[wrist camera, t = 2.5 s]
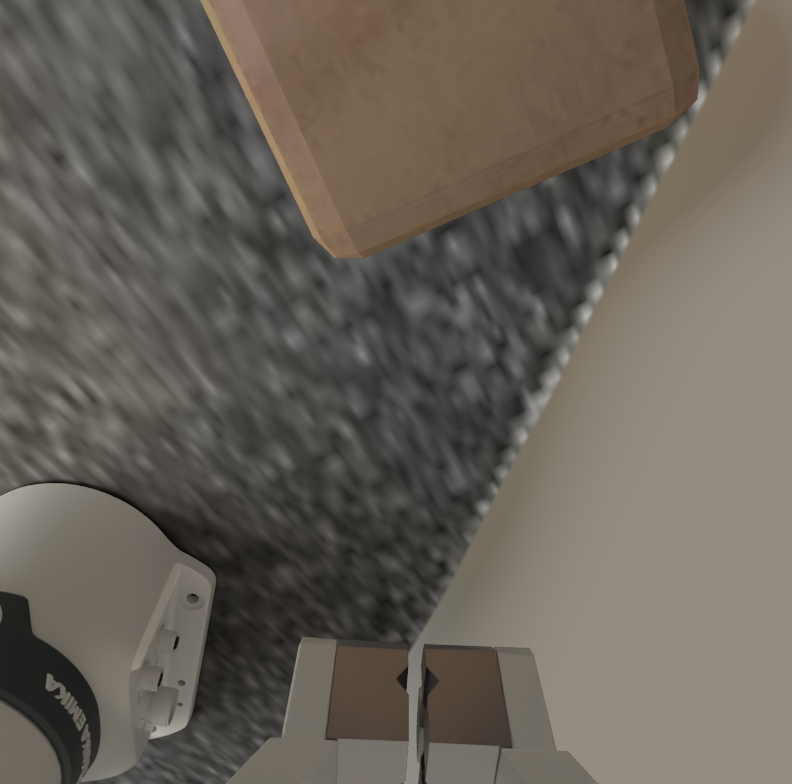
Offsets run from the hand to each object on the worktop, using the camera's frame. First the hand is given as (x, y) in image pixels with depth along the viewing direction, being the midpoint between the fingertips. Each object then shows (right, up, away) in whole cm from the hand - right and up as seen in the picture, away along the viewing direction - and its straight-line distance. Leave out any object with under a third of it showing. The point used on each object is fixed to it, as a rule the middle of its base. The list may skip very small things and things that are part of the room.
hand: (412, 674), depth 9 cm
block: (+1, +21, +23) cm, 31 cm away
